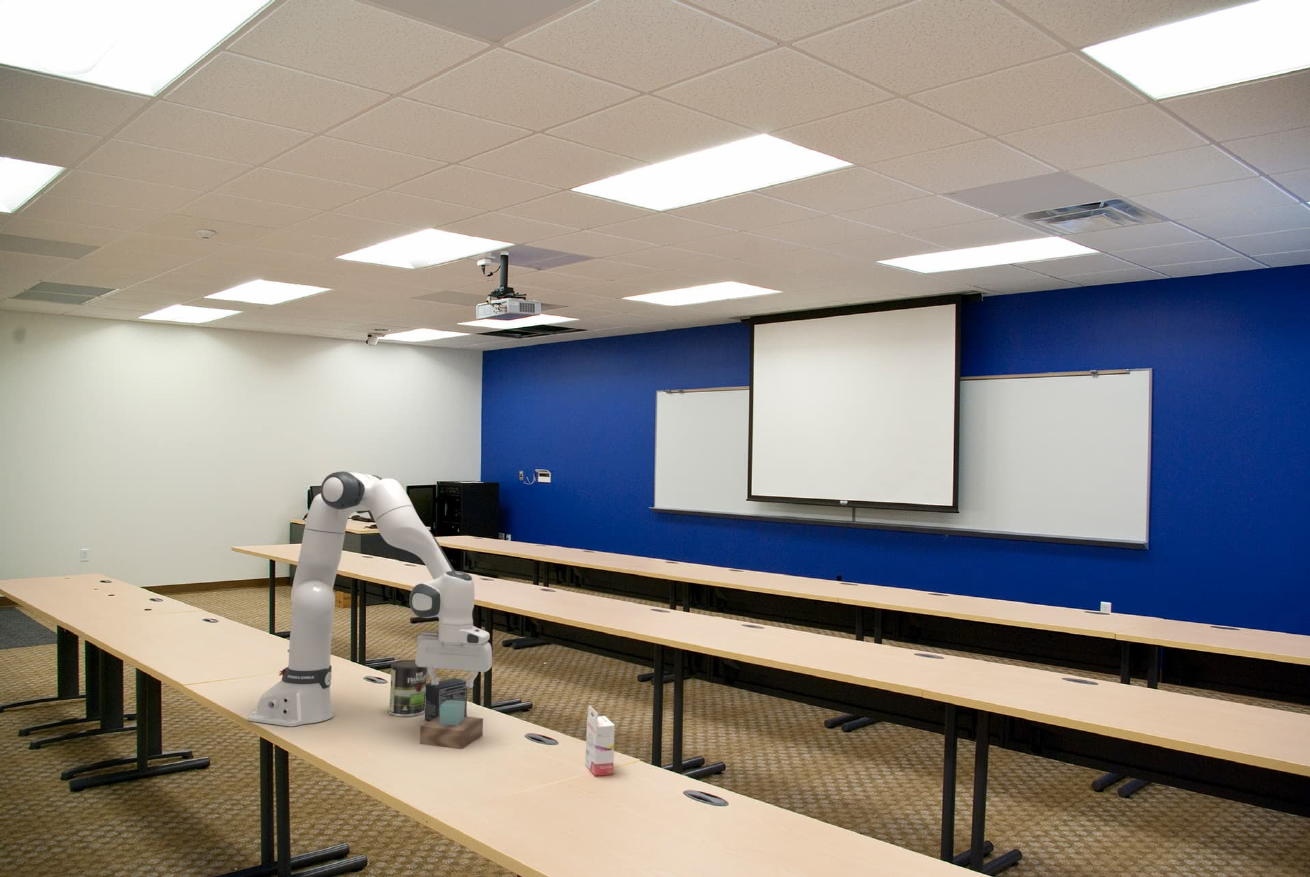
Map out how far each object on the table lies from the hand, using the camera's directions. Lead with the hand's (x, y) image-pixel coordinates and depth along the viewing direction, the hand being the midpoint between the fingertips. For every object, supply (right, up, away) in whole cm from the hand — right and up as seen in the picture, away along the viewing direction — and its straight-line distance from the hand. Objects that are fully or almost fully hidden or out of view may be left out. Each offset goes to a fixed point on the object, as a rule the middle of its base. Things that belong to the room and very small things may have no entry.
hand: (452, 686), depth 226 cm
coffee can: (-19, -15, +24) cm, 34 cm away
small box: (-6, -15, +18) cm, 25 cm away
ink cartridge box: (+40, -15, -19) cm, 47 cm away
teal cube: (0, -10, 0) cm, 10 cm away
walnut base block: (0, -15, 0) cm, 15 cm away
